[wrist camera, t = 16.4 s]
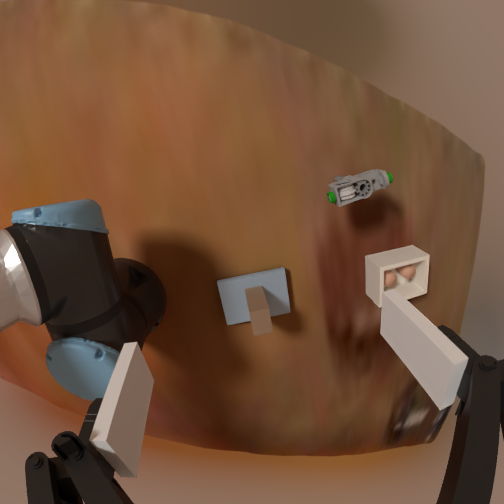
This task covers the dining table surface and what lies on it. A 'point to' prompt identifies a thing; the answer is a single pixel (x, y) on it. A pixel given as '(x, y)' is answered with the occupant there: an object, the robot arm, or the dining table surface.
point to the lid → (255, 298)
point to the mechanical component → (357, 186)
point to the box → (397, 273)
